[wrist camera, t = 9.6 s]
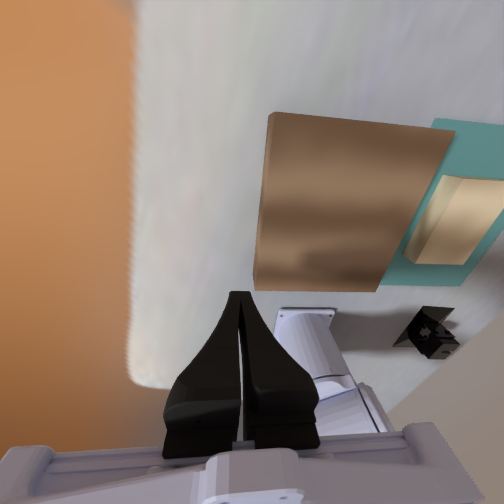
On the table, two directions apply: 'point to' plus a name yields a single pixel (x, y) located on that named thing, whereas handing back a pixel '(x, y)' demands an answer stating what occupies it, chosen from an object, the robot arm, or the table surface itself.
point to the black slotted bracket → (429, 333)
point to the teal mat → (453, 163)
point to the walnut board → (338, 199)
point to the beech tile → (455, 220)
